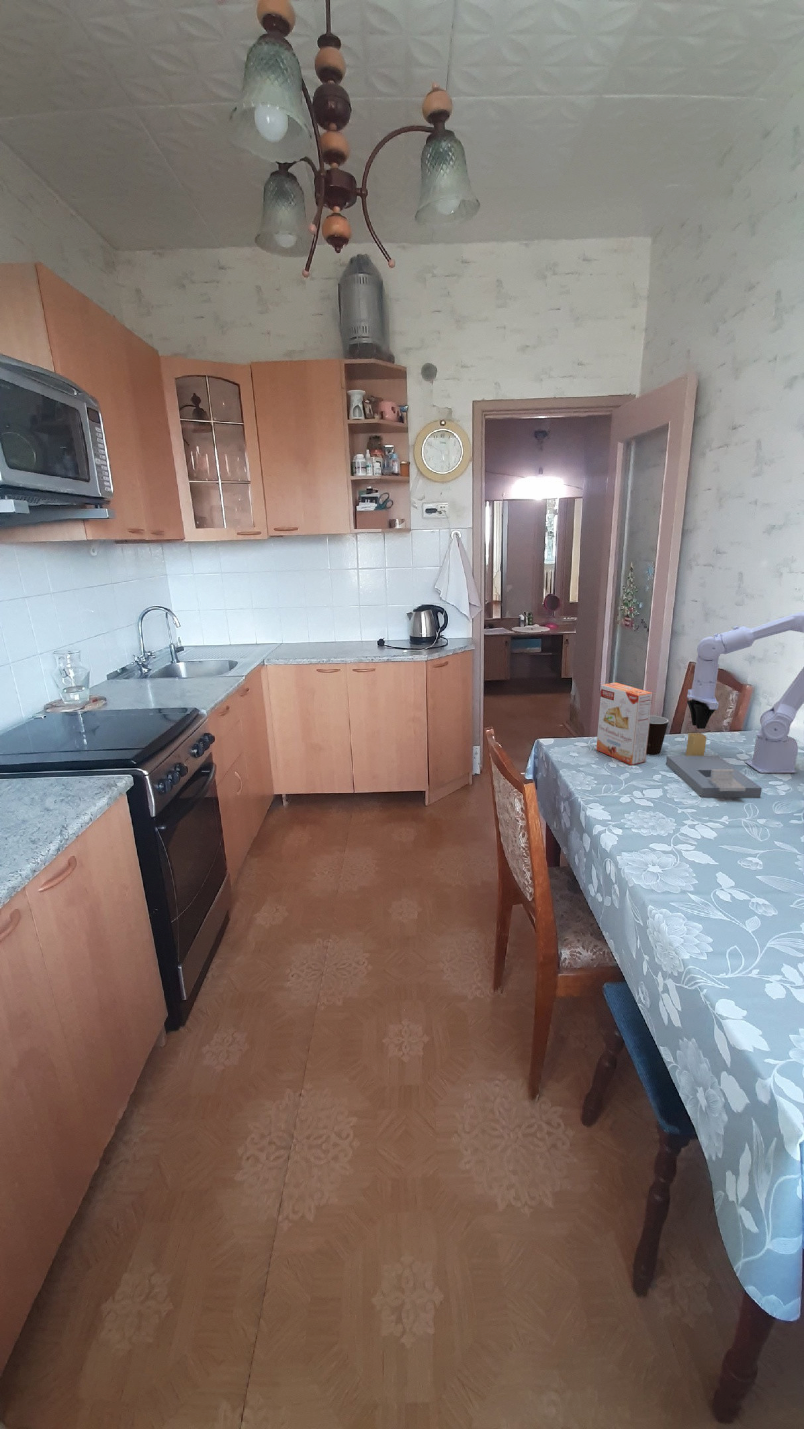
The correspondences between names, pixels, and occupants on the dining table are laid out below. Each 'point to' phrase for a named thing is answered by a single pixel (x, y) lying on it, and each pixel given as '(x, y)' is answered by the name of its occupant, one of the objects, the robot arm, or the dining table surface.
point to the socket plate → (709, 775)
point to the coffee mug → (656, 734)
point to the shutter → (725, 780)
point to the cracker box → (624, 722)
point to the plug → (696, 744)
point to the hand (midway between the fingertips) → (698, 726)
